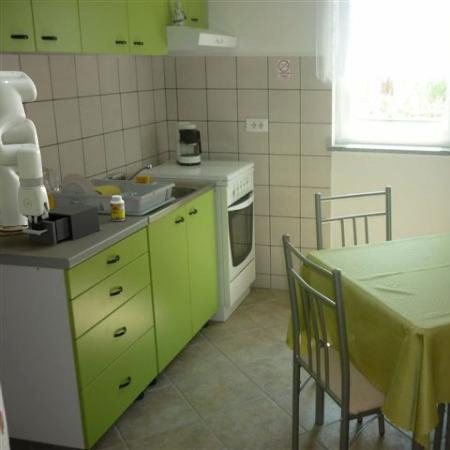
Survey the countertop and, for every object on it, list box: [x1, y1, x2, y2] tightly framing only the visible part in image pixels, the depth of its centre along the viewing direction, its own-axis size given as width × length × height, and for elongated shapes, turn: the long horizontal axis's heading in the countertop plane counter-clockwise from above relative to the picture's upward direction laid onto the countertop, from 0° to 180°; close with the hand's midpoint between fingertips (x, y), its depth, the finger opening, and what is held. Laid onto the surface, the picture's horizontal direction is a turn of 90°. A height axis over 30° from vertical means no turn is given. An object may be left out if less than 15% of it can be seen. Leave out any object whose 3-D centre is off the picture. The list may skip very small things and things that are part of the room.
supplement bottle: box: [109, 194, 126, 222], centre depth 243 cm, size 6×6×10 cm
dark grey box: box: [48, 203, 100, 241], centre depth 224 cm, size 15×13×10 cm
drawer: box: [22, 214, 71, 245], centre depth 213 cm, size 18×11×8 cm, turn 159°
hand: (37, 233), depth 208 cm, fingers closed
